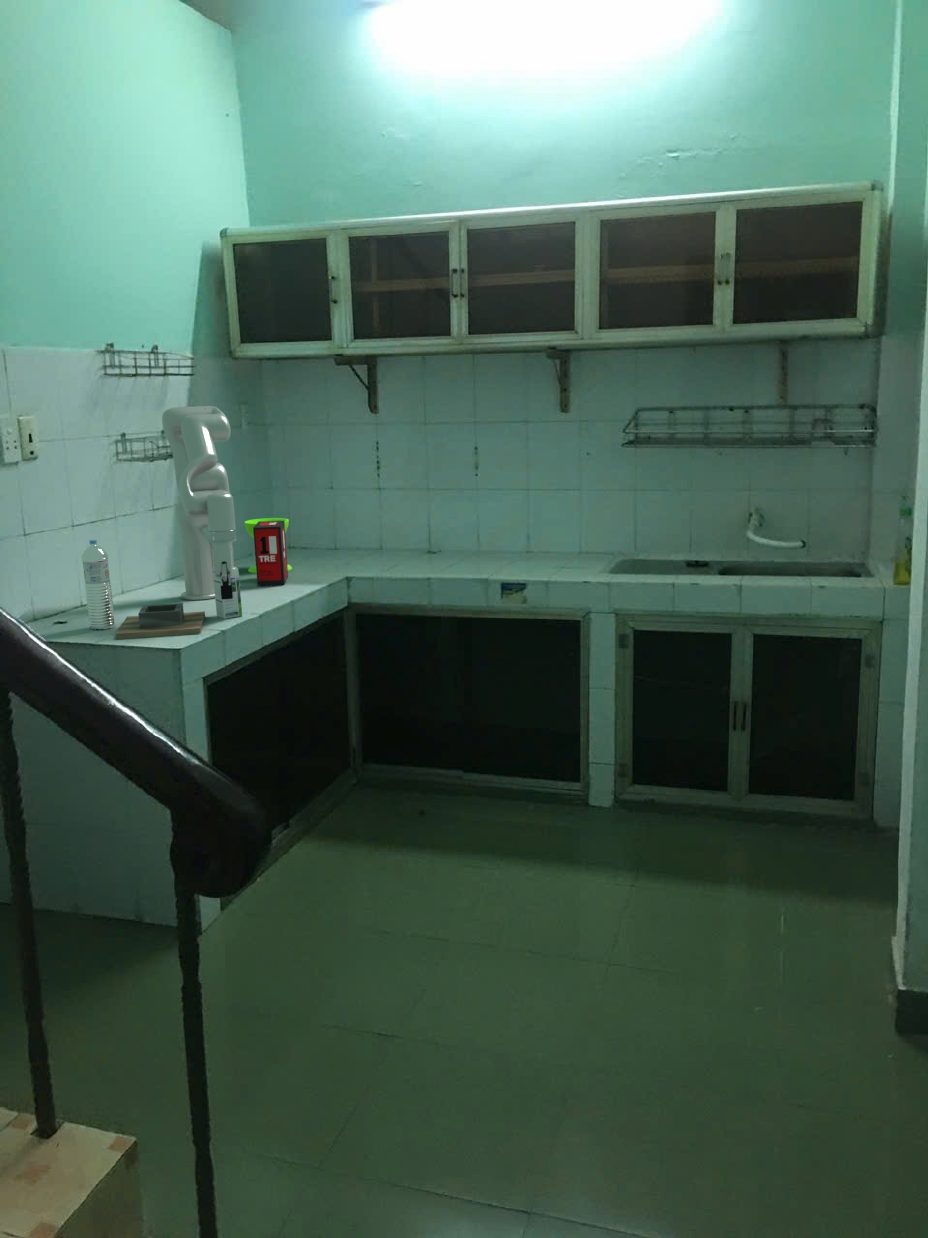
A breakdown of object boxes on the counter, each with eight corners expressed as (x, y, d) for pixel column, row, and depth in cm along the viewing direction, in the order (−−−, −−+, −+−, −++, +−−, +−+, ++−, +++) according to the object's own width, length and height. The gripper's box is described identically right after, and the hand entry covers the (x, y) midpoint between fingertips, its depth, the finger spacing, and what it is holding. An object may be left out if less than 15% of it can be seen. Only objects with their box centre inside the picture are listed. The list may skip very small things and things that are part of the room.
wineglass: (299, 566, 376) (296, 518, 372) (280, 573, 362) (276, 524, 357) (260, 565, 381) (257, 517, 377) (240, 572, 366) (236, 523, 362)
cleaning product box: (284, 585, 340) (280, 526, 335) (257, 586, 339) (253, 527, 335) (288, 576, 356) (284, 520, 351) (262, 577, 355) (258, 521, 351)
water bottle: (99, 624, 289) (90, 538, 284) (120, 625, 287) (111, 538, 282) (84, 629, 283) (74, 541, 277) (105, 630, 281) (95, 542, 275)
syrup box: (224, 619, 291) (220, 570, 288) (216, 615, 296) (212, 567, 293) (242, 616, 295) (238, 567, 291) (234, 613, 299) (230, 565, 296)
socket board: (127, 621, 292) (125, 602, 291) (205, 616, 296) (203, 598, 295) (116, 639, 271) (114, 619, 270) (200, 633, 275) (198, 613, 274)
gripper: (211, 532, 298) (216, 591, 302) (207, 541, 281) (213, 603, 285) (236, 531, 299) (241, 589, 303) (235, 539, 282) (240, 601, 286)
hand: (227, 595), depth 294 cm, fingers closed on syrup box, 7 cm apart
